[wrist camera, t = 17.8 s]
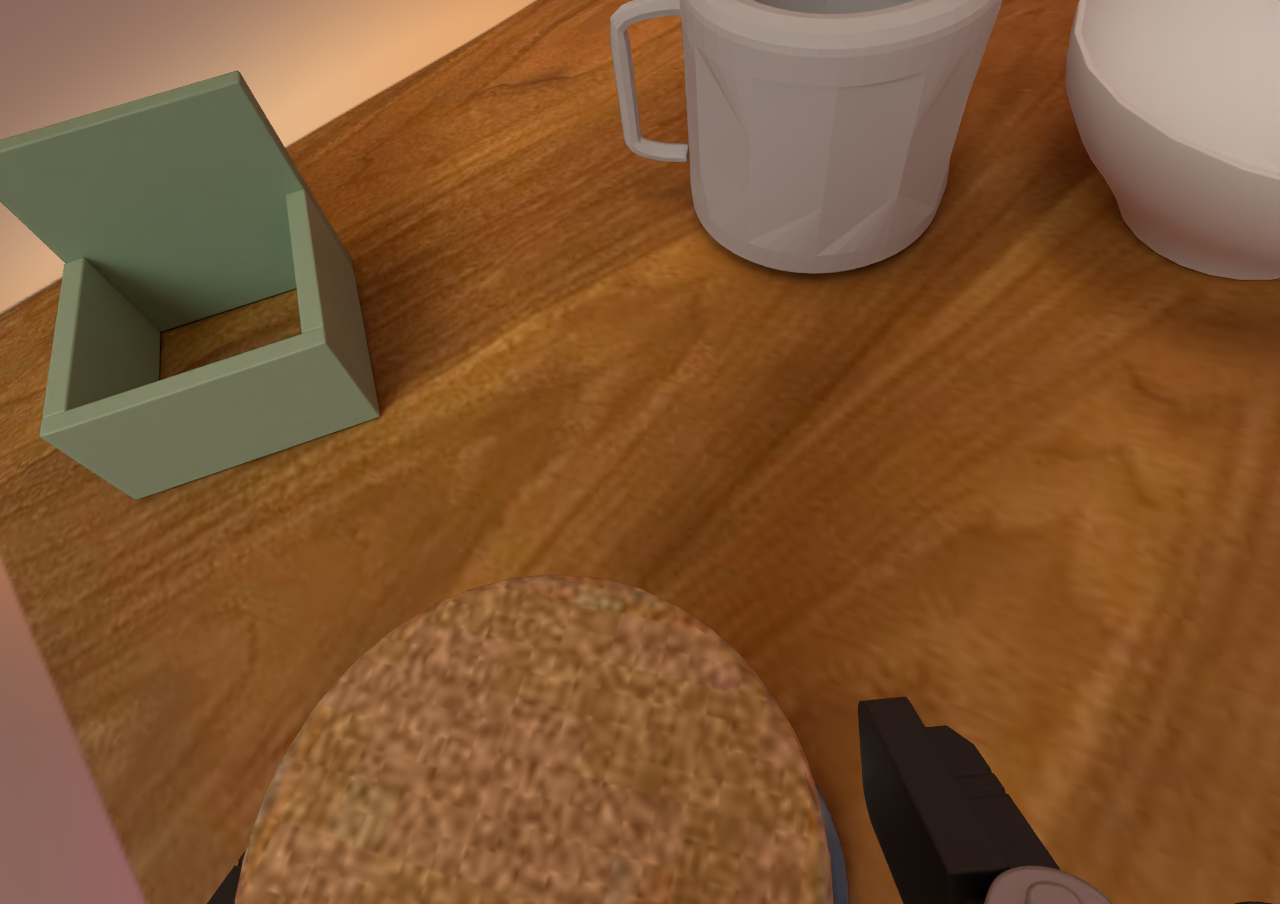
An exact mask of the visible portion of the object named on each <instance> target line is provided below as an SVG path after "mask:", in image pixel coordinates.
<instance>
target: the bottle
mask: <svg viewBox="0 0 1280 904" xmlns="http://www.w3.org/2000/svg"><path fill="white" fill-rule="evenodd" d="M235 904H834V899H833V888H832V870H831V856H830V851H829V846H828V841H827V836H826V831H825V826H824V821H823V816H822V811H821V807H820V802H819V798H818V794H817V790H816V786H815V783H814V780H813V777H812V774H811V770H810V767H809V764H808V761H807V758H806V756H805V754H804V752H803V749H802V747H801V745H800V743H799V740H798V738H797V736H796V734H795V731H794V729H793V728H792V726H791V725H790V723H789V721H788V720H787V718H786V717H785V715H784V713H783V712H782V710H781V708H780V707H779V705H778V704H777V702H776V700H775V699H774V697H773V696H772V695H771V693H770V692H769V690H768V689H767V688H766V686H765V685H764V684H763V682H762V681H761V679H760V678H759V677H758V675H757V674H756V673H755V671H754V670H753V668H752V667H751V666H750V665H749V664H748V663H747V662H746V661H745V660H744V659H743V658H742V657H741V656H740V655H739V654H738V653H737V652H736V651H735V650H734V649H733V648H732V647H731V646H730V645H729V644H728V643H727V642H725V641H724V640H723V639H722V638H721V637H720V636H719V635H718V634H716V633H715V632H714V631H713V630H712V629H711V628H710V627H709V626H708V625H706V624H705V623H703V622H702V621H700V620H698V619H697V618H695V617H693V616H692V615H690V614H689V613H687V612H685V611H684V610H682V609H681V608H679V607H677V606H675V605H673V604H671V603H669V602H667V601H665V600H663V599H661V598H659V597H657V596H654V595H652V594H650V593H648V592H646V591H644V590H642V589H639V588H636V587H632V586H629V585H625V584H621V583H618V582H613V581H607V580H602V579H596V578H590V577H579V576H567V575H542V576H526V577H520V578H515V579H509V580H504V581H500V582H496V583H492V584H489V585H485V586H481V587H477V588H474V589H470V590H468V591H466V592H463V593H461V594H458V595H456V596H453V597H451V598H448V599H446V600H444V601H441V602H439V603H436V604H435V605H433V606H431V607H430V608H428V609H426V610H425V611H423V612H422V613H420V614H418V615H417V616H415V617H413V618H412V619H410V620H409V621H407V622H405V623H404V624H402V625H400V626H399V627H397V628H395V629H394V630H392V631H391V632H390V633H389V634H387V635H386V636H385V637H384V638H383V639H381V640H380V641H379V642H378V643H377V644H375V645H374V646H373V647H372V648H371V649H369V650H368V651H367V652H366V653H364V654H363V655H362V656H361V657H360V658H358V659H357V660H356V661H355V662H354V664H353V665H352V666H351V667H350V668H349V669H348V670H347V671H346V672H345V673H344V674H343V675H342V677H341V678H340V679H339V680H338V681H337V682H336V683H335V684H334V685H333V687H332V688H331V689H330V690H329V691H328V692H327V694H326V695H325V696H324V697H323V698H322V700H321V701H320V702H319V703H318V704H317V706H316V707H315V708H314V709H313V711H312V712H311V714H310V716H309V717H308V719H307V720H306V722H305V723H304V725H303V727H302V728H301V730H300V731H299V733H298V735H297V736H296V738H295V739H294V741H293V743H292V744H291V746H290V747H289V749H288V750H287V752H286V754H285V755H284V757H283V758H282V760H281V762H280V763H279V765H278V767H277V769H276V772H275V774H274V776H273V779H272V781H271V783H270V786H269V788H268V790H267V793H266V795H265V797H264V800H263V803H262V805H261V808H260V811H259V814H258V816H257V819H256V822H255V825H254V828H253V830H252V834H251V837H250V840H249V843H248V846H247V849H246V852H245V855H244V859H243V863H242V868H241V873H240V878H239V883H238V888H237V893H236V898H235Z"/></svg>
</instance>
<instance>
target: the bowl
mask: <svg viewBox="0 0 1280 904" xmlns="http://www.w3.org/2000/svg"><path fill="white" fill-rule="evenodd" d="M1066 91H1067V95H1068V99H1069V102H1070V106H1071V110H1072V114H1073V116H1074V119H1075V122H1076V125H1077V128H1078V131H1079V134H1080V137H1081V140H1082V143H1083V145H1084V147H1085V149H1086V151H1087V153H1088V155H1089V157H1090V159H1091V160H1092V162H1093V163H1094V165H1095V166H1096V168H1097V169H1098V170H1099V172H1100V173H1101V174H1102V176H1103V177H1104V179H1105V181H1106V182H1107V184H1108V186H1109V187H1110V189H1111V191H1112V192H1113V194H1114V196H1115V198H1116V200H1117V204H1118V207H1119V209H1120V212H1121V215H1122V218H1123V220H1124V222H1125V223H1126V224H1127V225H1128V227H1129V228H1130V229H1131V231H1132V232H1133V233H1134V234H1135V236H1136V237H1137V238H1138V239H1139V240H1141V241H1142V242H1143V243H1144V244H1146V245H1147V246H1148V247H1149V248H1151V249H1152V250H1153V251H1154V252H1156V253H1157V254H1159V255H1161V256H1163V257H1165V258H1167V259H1169V260H1171V261H1173V262H1175V263H1177V264H1178V265H1180V266H1183V267H1186V268H1189V269H1192V270H1195V271H1199V272H1202V273H1205V274H1208V275H1212V276H1219V277H1225V278H1231V279H1237V280H1273V279H1279V278H1280V0H1080V1H1079V2H1078V6H1077V10H1076V13H1075V17H1074V21H1073V25H1072V29H1071V34H1070V40H1069V46H1068V52H1067V58H1066Z"/></svg>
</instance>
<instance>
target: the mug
mask: <svg viewBox="0 0 1280 904" xmlns="http://www.w3.org/2000/svg"><path fill="white" fill-rule="evenodd" d="M1001 3H1002V0H633V1H631V2H628V3H626V4H623V5H621V6H620V7H619V9H618V10H617V11H616V12H615V13H614V14H613V15H612V16H611V18H610V43H611V50H612V57H613V64H614V71H615V78H616V85H617V92H618V99H619V106H620V113H621V120H622V127H623V134H624V140H625V142H626V144H627V146H628V147H629V148H630V149H631V151H632V152H634V153H636V154H638V155H640V156H642V157H644V158H649V159H654V160H658V161H670V162H687V159H688V144H680V143H662V142H657V141H652V140H648V139H646V138H644V137H642V136H641V131H640V123H639V114H638V106H637V98H636V89H635V81H634V72H633V64H632V56H631V48H630V40H629V36H628V33H627V29H628V27H629V26H630V25H632V24H634V23H637V22H639V21H642V20H646V19H651V18H655V17H661V16H669V15H677V16H681V20H682V34H683V51H684V69H685V86H686V104H687V121H688V138H689V156H690V183H691V191H692V198H693V204H694V208H695V211H696V214H697V216H698V218H699V220H700V222H701V223H702V225H703V227H704V228H705V229H706V230H707V232H708V233H709V234H710V235H711V236H712V237H713V238H714V239H715V240H716V241H717V242H718V243H720V244H721V245H722V246H723V247H725V248H726V249H728V250H730V251H731V252H733V253H734V254H736V255H738V256H740V257H742V258H744V259H747V260H749V261H751V262H754V263H757V264H759V265H762V266H765V267H769V268H773V269H777V270H781V271H788V272H794V273H808V274H819V273H834V272H841V271H847V270H851V269H856V268H860V267H864V266H867V265H870V264H873V263H876V262H879V261H882V260H884V259H886V258H888V257H890V256H892V255H895V254H896V253H898V252H900V251H901V250H903V249H905V248H906V247H908V246H909V245H910V244H912V243H913V242H914V241H915V240H916V239H918V238H919V237H920V236H921V235H922V233H923V232H924V231H925V230H926V229H927V228H928V226H929V225H930V223H931V222H932V220H933V218H934V217H935V214H936V212H937V209H938V207H939V204H940V201H941V199H942V196H943V194H944V191H945V188H946V184H947V179H948V171H949V162H950V156H951V153H952V149H953V146H954V143H955V139H956V136H957V132H958V129H959V126H960V122H961V119H962V116H963V112H964V109H965V105H966V102H967V99H968V96H969V93H970V91H971V88H972V85H973V82H974V80H975V77H976V74H977V71H978V68H979V66H980V63H981V60H982V57H983V55H984V52H985V49H986V46H987V43H988V41H989V38H990V35H991V32H992V30H993V27H994V24H995V21H996V18H997V16H998V13H999V10H1000V7H1001Z"/></svg>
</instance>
